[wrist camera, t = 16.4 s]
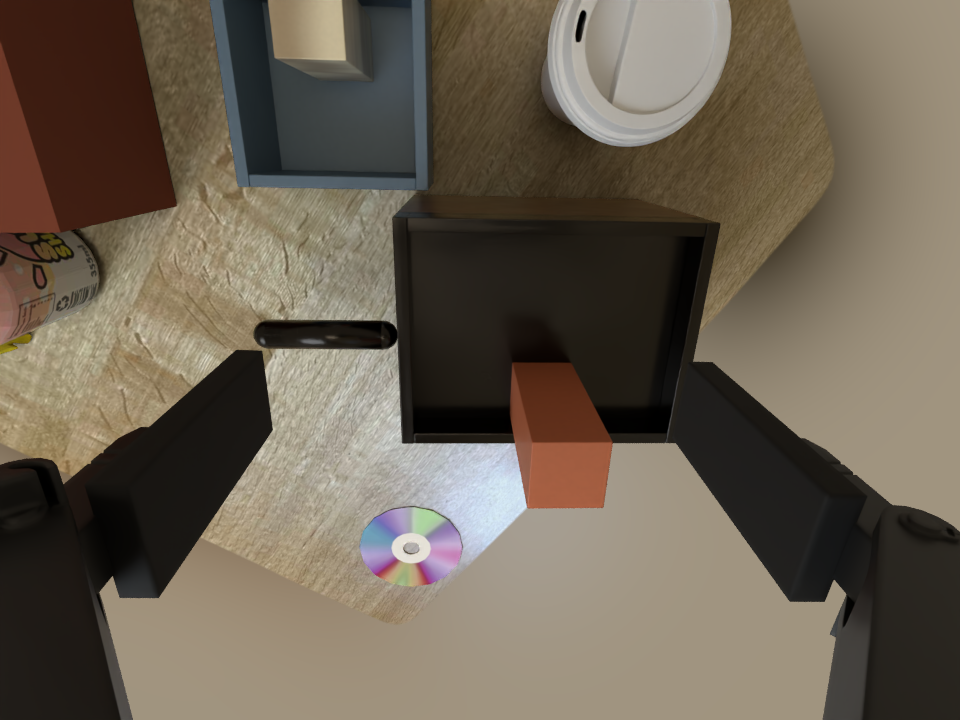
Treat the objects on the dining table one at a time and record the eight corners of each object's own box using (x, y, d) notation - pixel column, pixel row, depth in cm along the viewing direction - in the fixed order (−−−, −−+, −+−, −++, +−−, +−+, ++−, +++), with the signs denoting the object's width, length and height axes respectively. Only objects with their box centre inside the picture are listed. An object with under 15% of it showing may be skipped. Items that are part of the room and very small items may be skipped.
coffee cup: (568, -27, 36) (635, -134, 22) (670, 56, 38) (789, 4, 24) (496, 101, 39) (516, 76, 25) (595, 171, 41) (663, 182, 27)
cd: (477, 568, 57) (477, 568, 57) (438, 493, 53) (438, 493, 53) (386, 598, 58) (386, 597, 58) (341, 526, 54) (341, 526, 54)
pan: (638, 198, 42) (721, 223, 29) (615, 360, 48) (677, 443, 34) (303, 192, 41) (227, 214, 28) (321, 358, 47) (265, 443, 33)
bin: (431, -3, 36) (424, -39, 29) (433, 183, 41) (428, 190, 34) (252, -10, 36) (201, -48, 29) (275, 180, 41) (237, 186, 34)
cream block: (370, 18, 36) (340, -26, 27) (373, 82, 38) (346, 60, 29) (314, 16, 36) (263, -29, 27) (319, 80, 38) (274, 58, 28)
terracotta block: (571, 362, 34) (613, 442, 25) (566, 414, 36) (603, 508, 26) (512, 362, 34) (531, 442, 25) (509, 414, 35) (527, 509, 26)
